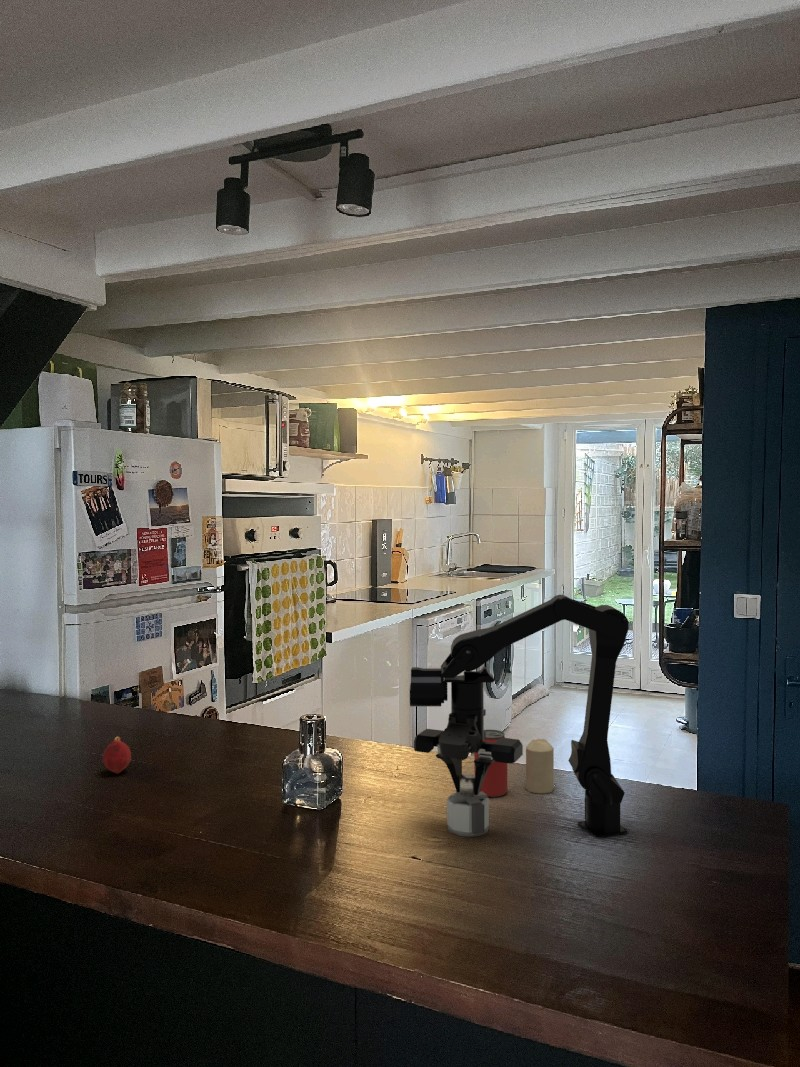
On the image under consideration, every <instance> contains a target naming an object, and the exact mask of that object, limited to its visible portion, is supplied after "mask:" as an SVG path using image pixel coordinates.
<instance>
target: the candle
mask: <svg viewBox="0 0 800 1067" xmlns="http://www.w3.org/2000/svg"><path fill="white" fill-rule="evenodd" d="M554 749H555V748H554V747H553V745H552V744H551V743H550V742H549V741H548V740H547V739H545V738H537V739H534V738H533V739H532V740H531V741H530V742H528V744H527V745H526V746H525V788H526V791H528V792H529V793H534V794H541V795H542V794H543V795H544V794H550V793H552V792H553V791H554V786H555V785H554V781H555V778H554V777H555V776H554V775H555V773H554V772H555V771H554V770H555V768H554V762H555V761H554V759H555V758H554V751H555V750H554Z"/></svg>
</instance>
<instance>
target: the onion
mask: <svg viewBox="0 0 800 1067" xmlns="http://www.w3.org/2000/svg"><path fill="white" fill-rule="evenodd" d="M131 760H132V752H131V749H130V747H129V745H128V744H126V742H124V741H121V737H120V736H116V737H115V738H114V739H113V740H112V742H111V743H110V744H108V745H107V746H106V748H105V749H104V751H103V755H102V763H103V764H104V766H105V768H106V769H107V770H109V771H110V772H112V773H114V774H117V775H118V774H120V773H121V772H122V771H124V769H126V768H127V767H128V766H129V765H130V762H131Z"/></svg>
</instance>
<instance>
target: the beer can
mask: <svg viewBox="0 0 800 1067" xmlns="http://www.w3.org/2000/svg"><path fill="white" fill-rule="evenodd" d="M484 732H486V738H485V739H484V742H492V743H495V742H496V741H497V740H498V739H499V738H501V737H502V738H506V736H505V733H504V732H503V731H502V730H499V729H484ZM473 756H474V757H473V758H474V760H473V762H474V761H475V760H476V759H477V758H478V757H479V755H478V753H476V752H473ZM473 765H474V767H473V768H474V772H473V775H475V770H476V767H475V764H474V763H473ZM482 791H483V792H484V793H485V794H487V798H498V797H503V796H504V795H506V793H507V792H508V763H501V762H495V761H494V762H493V763H492V764H491V765H490V766H489V768H488V770H487V773H486V776H485V778H484V781H483V784H482V786H481V789H480V792H482Z"/></svg>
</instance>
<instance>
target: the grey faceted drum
mask: <svg viewBox="0 0 800 1067" xmlns="http://www.w3.org/2000/svg"><path fill="white" fill-rule="evenodd" d="M466 802H467V803H468V804H470V805H466ZM446 825H447V831H448V832H449V833H451V834H452V835H455V836H457V837H458V836H459V837H464V838H474V837H480V836H484V835H486V834H487V833H488V832H489V825H490V798H489V797H487V794H485V793H484V792H483V791H482V792H479V794H478V795H474V796H470V797H466V796H463V795H460V793H459V792H457V791H456V790H455V793H451V795H449V796H448V797H446Z"/></svg>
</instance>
